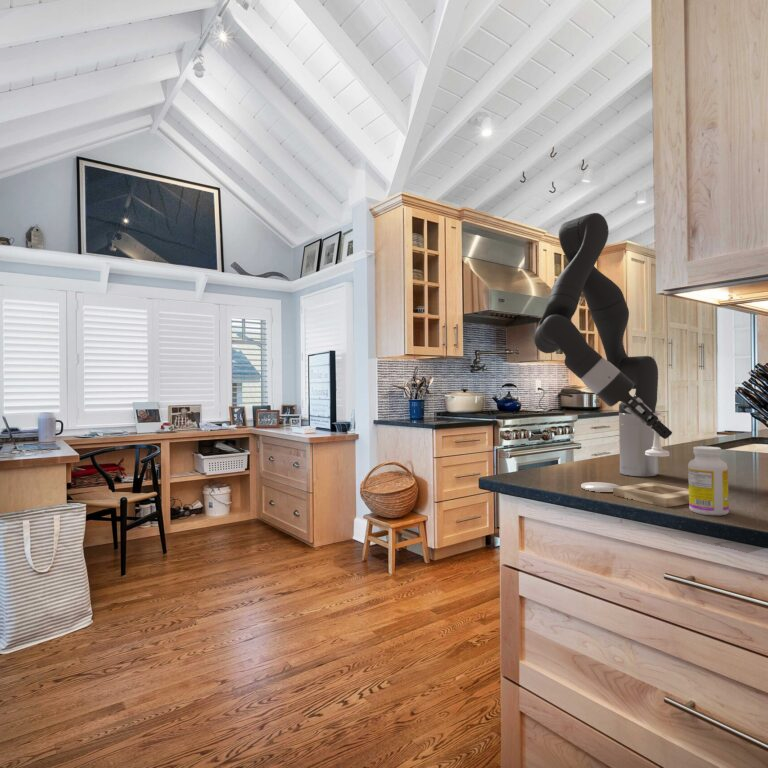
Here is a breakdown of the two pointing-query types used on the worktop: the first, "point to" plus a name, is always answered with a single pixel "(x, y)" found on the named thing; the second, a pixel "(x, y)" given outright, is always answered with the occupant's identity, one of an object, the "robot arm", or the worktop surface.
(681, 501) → the pocket block
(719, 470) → the supplement bottle
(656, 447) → the chess piece
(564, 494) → the worktop surface
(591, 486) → the coaster
